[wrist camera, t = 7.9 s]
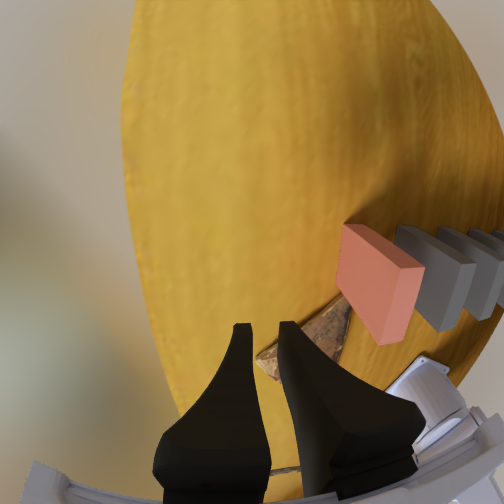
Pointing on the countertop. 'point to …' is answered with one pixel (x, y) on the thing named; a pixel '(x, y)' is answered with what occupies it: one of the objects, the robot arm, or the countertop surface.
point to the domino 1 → (437, 276)
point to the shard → (316, 335)
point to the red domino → (378, 282)
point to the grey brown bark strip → (285, 470)
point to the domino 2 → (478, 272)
